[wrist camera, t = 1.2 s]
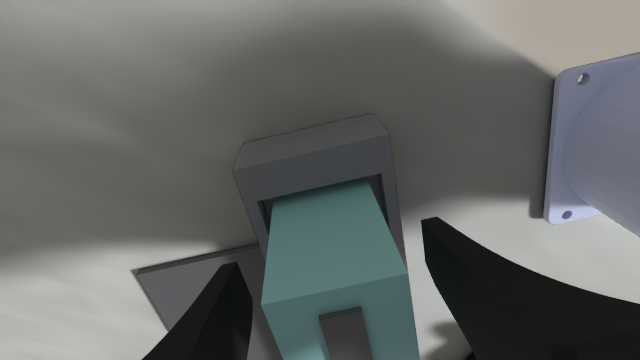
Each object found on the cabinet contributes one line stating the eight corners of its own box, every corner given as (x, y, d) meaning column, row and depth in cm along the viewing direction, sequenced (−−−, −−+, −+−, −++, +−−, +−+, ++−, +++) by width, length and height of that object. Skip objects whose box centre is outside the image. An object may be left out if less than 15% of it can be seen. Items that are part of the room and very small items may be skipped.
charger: (365, 176, 14) (410, 278, 9) (379, 250, 16) (423, 374, 11) (273, 197, 15) (260, 310, 9) (296, 268, 16) (297, 400, 11)
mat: (266, 241, 18) (266, 246, 18) (306, 353, 22) (306, 359, 22) (139, 270, 18) (136, 275, 18) (201, 375, 22) (199, 381, 22)
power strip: (242, 143, 15) (228, 177, 12) (372, 112, 15) (393, 139, 12) (319, 366, 23) (323, 425, 19) (409, 348, 22) (428, 404, 19)
